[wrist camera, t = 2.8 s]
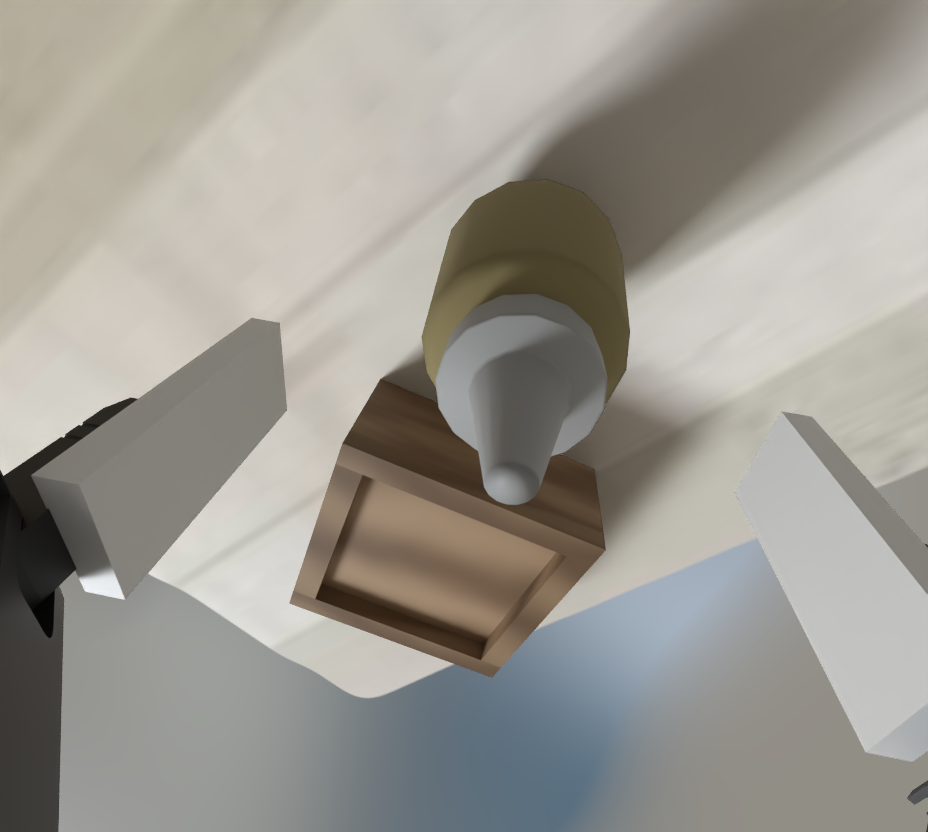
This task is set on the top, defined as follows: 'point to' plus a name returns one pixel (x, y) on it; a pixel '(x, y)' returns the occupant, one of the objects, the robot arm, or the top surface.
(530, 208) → the squeeze bottle
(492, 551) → the walnut tray
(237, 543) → the top surface
